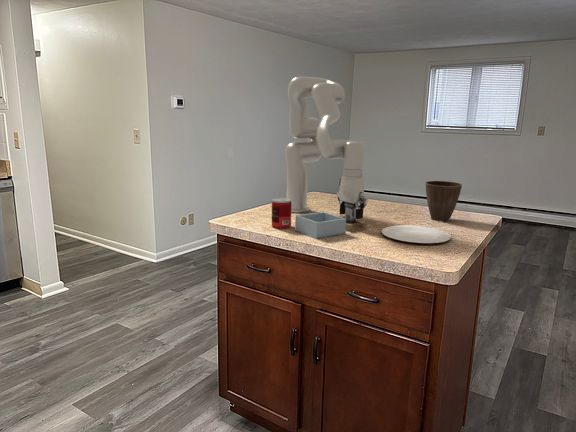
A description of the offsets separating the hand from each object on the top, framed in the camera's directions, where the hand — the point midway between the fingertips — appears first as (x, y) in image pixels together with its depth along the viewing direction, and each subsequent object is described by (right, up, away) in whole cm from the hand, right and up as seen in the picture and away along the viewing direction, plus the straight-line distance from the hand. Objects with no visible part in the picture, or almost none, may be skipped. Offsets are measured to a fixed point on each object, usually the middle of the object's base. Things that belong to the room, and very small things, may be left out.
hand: (350, 216), depth 176 cm
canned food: (-28, -4, +1) cm, 28 cm away
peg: (0, -5, +1) cm, 5 cm away
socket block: (0, -5, +1) cm, 5 cm away
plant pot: (+42, -2, +19) cm, 46 cm away
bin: (-13, -6, -7) cm, 16 cm away
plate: (+23, -8, -10) cm, 26 cm away
